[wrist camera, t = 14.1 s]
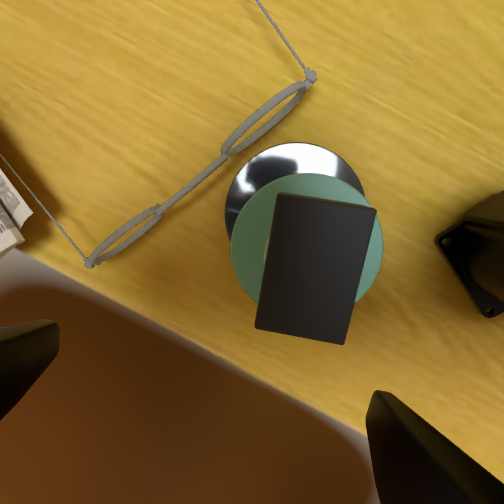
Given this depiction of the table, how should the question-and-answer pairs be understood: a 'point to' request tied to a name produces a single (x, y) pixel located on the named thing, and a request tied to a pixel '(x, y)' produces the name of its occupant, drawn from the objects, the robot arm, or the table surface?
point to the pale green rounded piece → (307, 254)
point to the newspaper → (11, 215)
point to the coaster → (283, 173)
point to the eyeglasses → (225, 152)
